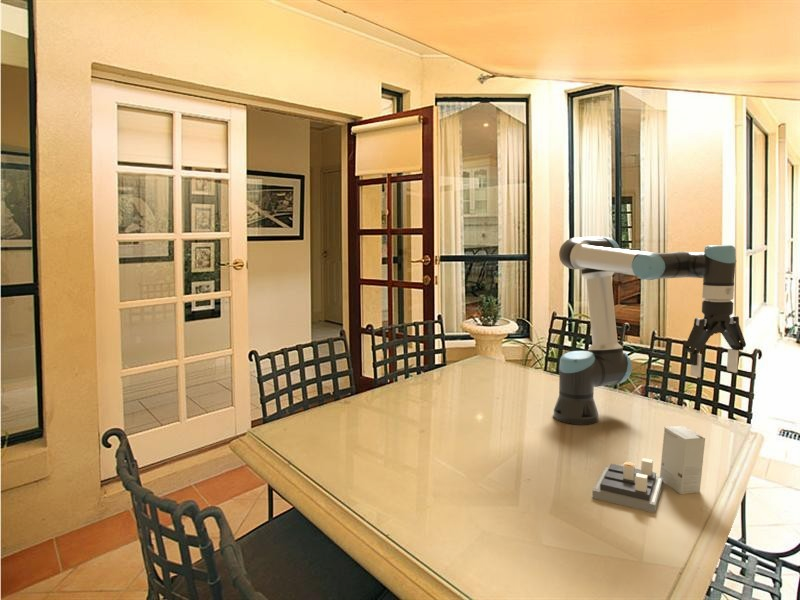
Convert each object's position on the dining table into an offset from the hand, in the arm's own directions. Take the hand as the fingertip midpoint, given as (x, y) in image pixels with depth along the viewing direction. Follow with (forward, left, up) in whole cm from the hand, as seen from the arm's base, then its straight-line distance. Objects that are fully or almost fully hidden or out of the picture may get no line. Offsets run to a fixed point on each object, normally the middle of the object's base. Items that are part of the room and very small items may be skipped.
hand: (713, 374), depth 148 cm
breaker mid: (-17, -34, -21) cm, 43 cm away
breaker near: (-13, -39, -21) cm, 46 cm away
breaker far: (-13, -29, -21) cm, 38 cm away
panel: (-17, -34, -25) cm, 45 cm away
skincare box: (-6, -25, -25) cm, 35 cm away
